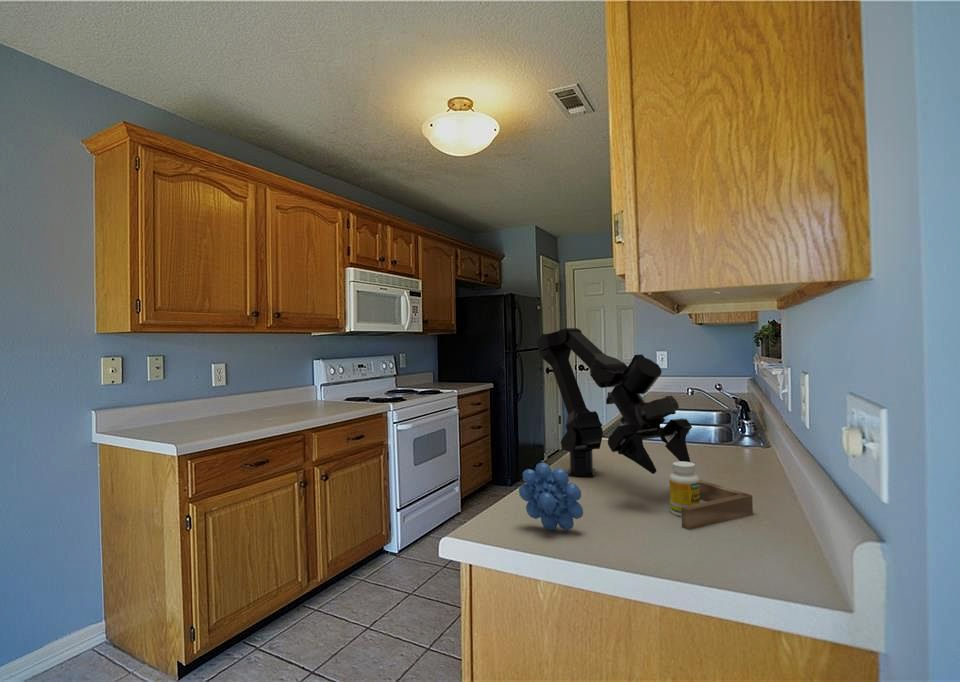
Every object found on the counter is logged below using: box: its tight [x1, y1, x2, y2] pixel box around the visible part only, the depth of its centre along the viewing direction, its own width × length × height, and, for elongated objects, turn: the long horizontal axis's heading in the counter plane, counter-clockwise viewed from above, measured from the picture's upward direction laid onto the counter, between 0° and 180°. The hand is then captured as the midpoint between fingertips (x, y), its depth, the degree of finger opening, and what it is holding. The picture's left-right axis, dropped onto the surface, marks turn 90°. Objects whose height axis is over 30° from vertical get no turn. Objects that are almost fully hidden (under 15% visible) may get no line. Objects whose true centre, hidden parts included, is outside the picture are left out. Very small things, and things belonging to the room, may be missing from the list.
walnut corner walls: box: [681, 479, 754, 531], centre depth 97 cm, size 16×17×4 cm
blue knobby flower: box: [518, 462, 584, 531], centre depth 87 cm, size 12×7×12 cm, turn 70°
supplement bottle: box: [668, 460, 701, 518], centre depth 95 cm, size 5×5×10 cm
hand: (672, 469), depth 97 cm, fingers open, 9 cm apart
